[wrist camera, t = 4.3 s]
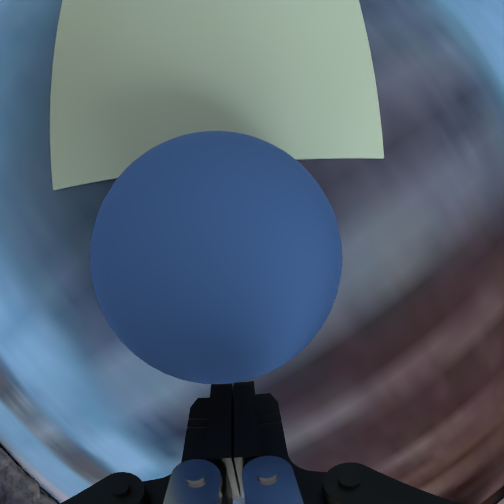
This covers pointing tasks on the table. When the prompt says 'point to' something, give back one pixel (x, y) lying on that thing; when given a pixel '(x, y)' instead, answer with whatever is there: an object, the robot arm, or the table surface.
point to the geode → (19, 485)
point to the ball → (215, 257)
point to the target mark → (208, 80)
